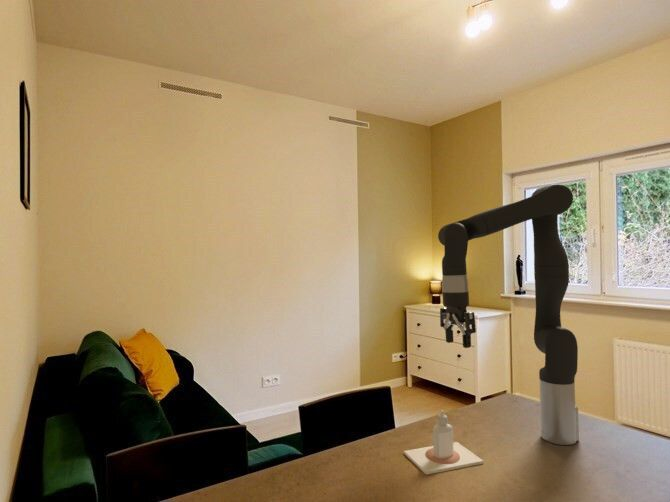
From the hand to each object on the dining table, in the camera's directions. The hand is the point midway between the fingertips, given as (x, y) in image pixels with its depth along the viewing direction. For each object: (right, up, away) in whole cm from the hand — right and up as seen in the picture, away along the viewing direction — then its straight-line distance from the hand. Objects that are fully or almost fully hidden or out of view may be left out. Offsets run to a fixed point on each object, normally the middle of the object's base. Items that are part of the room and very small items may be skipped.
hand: (458, 344), depth 122 cm
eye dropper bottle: (-7, -28, -11) cm, 31 cm away
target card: (-7, -28, -11) cm, 31 cm away
